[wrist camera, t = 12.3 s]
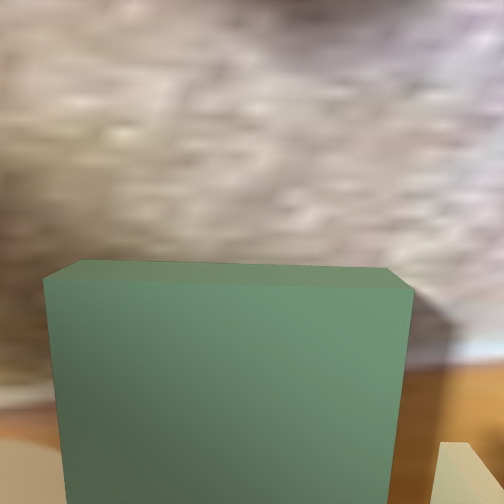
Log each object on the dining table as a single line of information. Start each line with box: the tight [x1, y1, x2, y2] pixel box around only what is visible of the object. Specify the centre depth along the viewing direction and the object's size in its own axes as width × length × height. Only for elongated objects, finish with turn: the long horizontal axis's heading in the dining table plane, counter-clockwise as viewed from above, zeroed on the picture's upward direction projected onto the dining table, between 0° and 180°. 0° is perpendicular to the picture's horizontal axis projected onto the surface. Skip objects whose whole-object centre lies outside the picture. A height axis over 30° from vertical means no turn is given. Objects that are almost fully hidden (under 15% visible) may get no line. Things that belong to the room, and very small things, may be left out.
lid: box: [43, 259, 415, 504], centre depth 14 cm, size 11×11×4 cm
